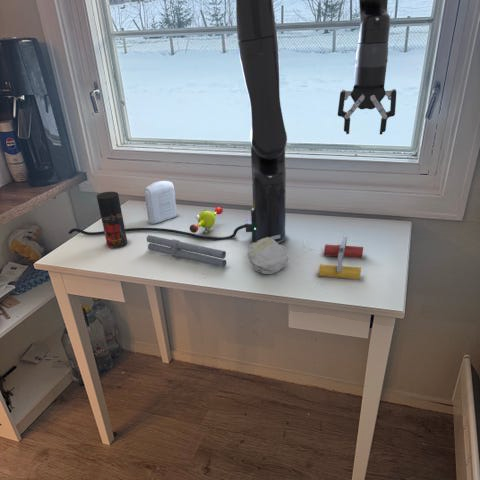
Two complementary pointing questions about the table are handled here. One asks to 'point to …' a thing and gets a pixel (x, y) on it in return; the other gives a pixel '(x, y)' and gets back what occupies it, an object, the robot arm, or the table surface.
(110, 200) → the deodorant
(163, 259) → the table surface
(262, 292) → the table surface
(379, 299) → the table surface
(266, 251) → the fossil replica
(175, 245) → the metal rod assembly
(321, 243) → the table surface
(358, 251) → the red rod
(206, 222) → the toy figure
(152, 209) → the white rounded block
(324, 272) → the yellow rod
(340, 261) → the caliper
